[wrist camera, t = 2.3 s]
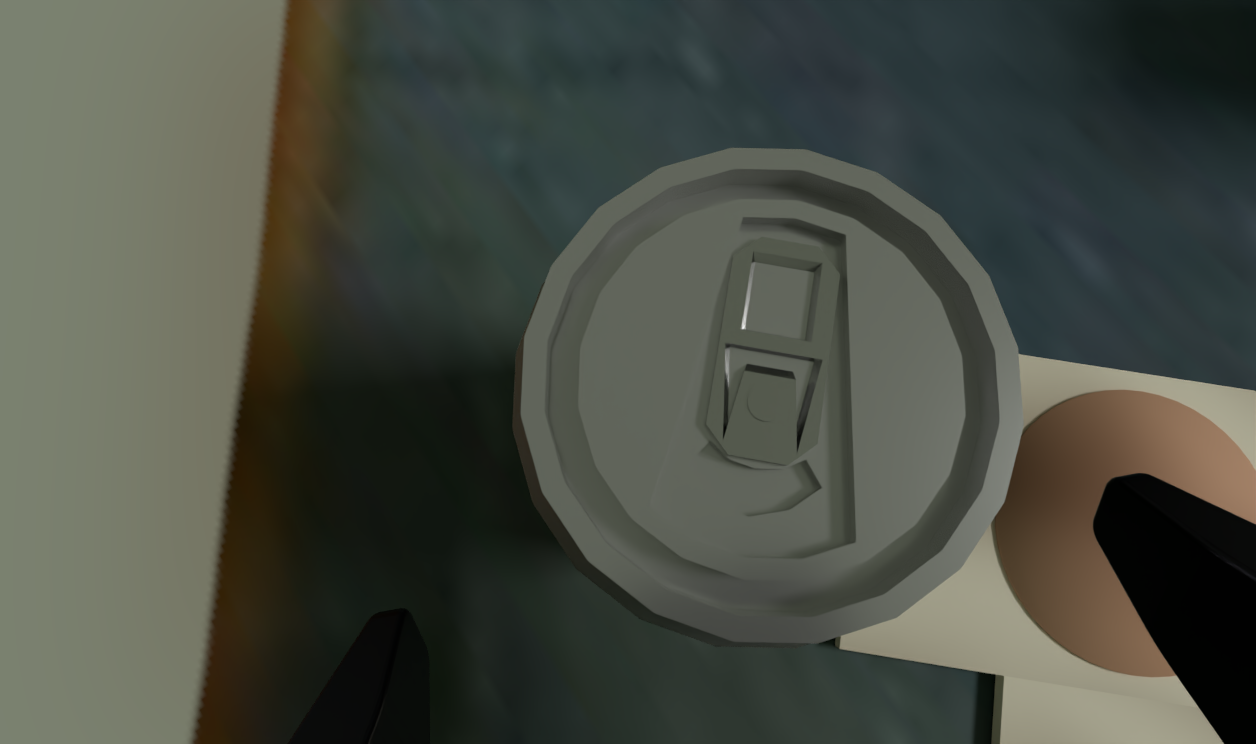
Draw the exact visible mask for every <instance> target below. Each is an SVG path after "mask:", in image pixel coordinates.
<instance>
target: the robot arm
mask: <svg viewBox="0 0 1256 744" xmlns="http://www.w3.org/2000/svg"><path fill="white" fill-rule="evenodd" d="M1093 531H1094V535H1095V538H1096V540H1097V542H1098V544H1099V546H1100V547H1101V549H1102V551H1103V553H1104V555H1105V556H1106V558H1107V560H1108V562H1109V564H1110V565H1111V567H1112V569H1113V571H1114V572H1115V574H1116V576H1117V578H1118V580H1119V581H1120V583H1121V585H1122V587H1123V589H1124V590H1125V592H1126V594H1127V596H1128V597H1129V599H1130V601H1131V603H1132V605H1133V606H1134V608H1135V610H1136V612H1137V613H1138V615H1139V617H1140V619H1141V621H1142V622H1143V624H1144V626H1145V628H1146V630H1147V631H1148V633H1149V635H1150V636H1151V638H1152V639H1153V641H1154V643H1155V644H1156V646H1157V648H1158V649H1159V651H1160V652H1161V654H1162V655H1163V657H1164V658H1165V660H1166V661H1167V663H1168V664H1169V666H1170V667H1171V669H1172V670H1173V672H1174V673H1175V674H1176V676H1177V677H1178V679H1179V680H1180V682H1181V683H1182V684H1183V686H1184V687H1185V689H1186V690H1187V692H1188V693H1189V695H1190V696H1191V697H1192V699H1193V700H1194V702H1195V703H1196V705H1197V706H1198V707H1199V709H1200V710H1201V712H1202V713H1203V715H1204V716H1205V717H1206V719H1207V720H1208V722H1209V723H1210V725H1211V726H1212V728H1213V729H1214V730H1215V732H1216V733H1217V735H1218V736H1219V738H1220V739H1221V740H1222V742H1223V743H1224V744H1256V524H1254V523H1252V522H1250V521H1248V520H1246V519H1243V518H1241V517H1239V516H1237V515H1235V514H1233V513H1231V512H1229V511H1226V510H1224V509H1222V508H1220V507H1218V506H1216V505H1214V504H1212V503H1209V502H1207V501H1205V500H1203V499H1201V498H1199V497H1197V496H1195V495H1192V494H1190V493H1188V492H1186V491H1184V490H1182V489H1180V488H1178V487H1176V486H1173V485H1171V484H1169V483H1167V482H1165V481H1163V480H1161V479H1159V478H1156V477H1154V476H1152V475H1149V474H1146V473H1134V474H1129V475H1124V476H1118V477H1114V478H1112V479H1110V480H1109V481H1108V482H1107V484H1106V486H1105V488H1104V491H1103V494H1102V496H1101V499H1100V502H1099V505H1098V507H1097V510H1096V513H1095V516H1094V518H1093ZM288 744H430V707H429V656H428V651H427V647H426V644H425V642H424V640H423V638H422V636H421V634H420V632H419V630H418V627H417V625H416V623H415V621H414V619H413V617H412V615H411V613H410V612H409V611H408V610H407V609H405V608H400V609H394V610H389V611H384V612H379V613H376V614H374V615H373V616H372V617H371V618H370V619H369V620H368V622H367V623H366V625H365V626H364V628H363V629H362V631H361V632H360V634H359V636H358V637H357V639H356V640H355V642H354V643H353V645H352V646H351V648H350V649H349V651H348V652H347V654H346V655H345V657H344V658H343V660H342V661H341V663H340V664H339V666H338V668H337V669H336V671H335V672H334V674H333V675H332V677H331V678H330V680H329V681H328V683H327V684H326V686H325V687H324V689H323V690H322V692H321V693H320V695H319V697H318V698H317V700H316V701H315V703H314V704H313V706H312V707H311V709H310V710H309V712H308V713H307V715H306V716H305V718H304V719H303V721H302V722H301V724H300V725H299V727H298V729H297V730H296V732H295V733H294V735H293V736H292V738H291V739H290V741H289V742H288Z"/></svg>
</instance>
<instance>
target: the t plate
mask: <svg viewBox="0 0 1256 744" xmlns="http://www.w3.org/2000/svg"><path fill="white" fill-rule="evenodd" d="M1018 355H1019V368H1020V381H1021V394H1022V408H1023V421H1024V427H1023V431H1022V435H1021V439H1020V443H1019V447H1018V451H1017V455H1016V459H1015V463H1014V467H1013V471H1012V475H1011V479H1010V483H1009V487H1008V490H1007V494H1006V498H1005V502H1004V504H1003V505H1002V507H1001V508H1000V510H999V511H998V513H997V514H996V516H995V517H994V519H993V520H992V522H991V524H990V525H989V527H988V528H987V530H986V531H985V533H984V534H983V536H982V537H981V539H980V540H979V542H978V543H977V545H976V546H975V548H974V549H973V551H972V553H971V554H970V556H969V557H968V559H967V560H966V562H965V563H964V565H963V566H962V568H961V569H960V570H959V571H957V572H956V573H955V574H953V575H952V576H951V577H949V578H948V579H947V580H945V581H944V582H943V583H942V584H940V585H939V586H938V587H936V588H935V589H934V590H932V591H931V592H930V593H928V594H927V595H926V596H925V597H923V598H922V599H921V600H919V601H918V602H917V603H915V604H914V605H913V606H911V607H910V608H909V609H908V610H906V611H905V612H904V613H902V614H901V615H900V616H898V617H897V618H895V619H892V620H889V621H886V622H882V623H879V624H876V625H873V626H870V627H867V628H864V629H861V630H858V631H855V632H852V633H848V634H845V635H842V636H839V637H836V640H835V646H836V647H838V648H839V649H843V650H850V651H856V652H862V653H868V654H874V655H880V656H886V657H892V658H898V659H904V660H910V661H917V662H923V663H929V664H935V665H941V666H947V667H953V668H959V669H965V670H971V671H978V672H984V673H990V674H996V678H995V693H994V709H993V724H992V740H991V744H1224V743H1223V742H1222V740H1221V739H1220V738H1219V736H1218V735H1217V733H1216V732H1215V730H1214V729H1213V728H1212V726H1211V725H1210V723H1209V722H1208V720H1207V719H1206V717H1205V716H1204V715H1203V713H1202V712H1201V710H1200V709H1199V707H1198V706H1197V705H1196V703H1195V702H1194V700H1193V699H1192V697H1191V696H1190V695H1189V693H1188V692H1187V690H1186V689H1185V687H1184V686H1183V684H1182V683H1181V682H1180V680H1179V679H1178V677H1177V676H1176V674H1175V673H1174V672H1173V670H1172V669H1171V667H1170V666H1169V664H1168V663H1167V661H1166V660H1165V658H1164V657H1163V655H1162V654H1161V652H1160V651H1159V649H1158V648H1157V646H1156V644H1155V643H1154V641H1153V639H1152V638H1151V636H1150V635H1149V633H1148V631H1147V630H1146V628H1145V626H1144V624H1143V622H1142V621H1141V619H1140V617H1139V615H1138V613H1137V612H1136V610H1135V608H1134V606H1133V605H1132V603H1131V601H1130V599H1129V597H1128V596H1127V594H1126V592H1125V590H1124V589H1123V587H1122V585H1121V583H1120V581H1119V580H1118V578H1117V576H1116V574H1115V572H1114V571H1113V569H1112V567H1111V565H1110V564H1109V562H1108V560H1107V558H1106V556H1105V555H1104V553H1103V551H1102V549H1101V547H1100V546H1099V544H1098V542H1097V540H1096V538H1095V535H1094V531H1093V518H1094V516H1095V513H1096V510H1097V507H1098V505H1099V502H1100V499H1101V496H1102V494H1103V491H1104V488H1105V486H1106V484H1107V482H1108V481H1109V480H1110V479H1112V478H1114V477H1118V476H1124V475H1129V474H1134V473H1146V474H1149V475H1152V476H1154V477H1156V478H1159V479H1161V480H1163V481H1165V482H1167V483H1169V484H1171V485H1173V486H1176V487H1178V488H1180V489H1182V490H1184V491H1186V492H1188V493H1190V494H1192V495H1195V496H1197V497H1199V498H1201V499H1203V500H1205V501H1207V502H1209V503H1212V504H1214V505H1216V506H1218V507H1220V508H1222V509H1224V510H1226V511H1229V512H1231V513H1233V514H1235V515H1237V516H1239V517H1241V518H1243V519H1246V520H1248V521H1250V522H1252V523H1254V524H1256V391H1252V390H1246V389H1239V388H1233V387H1226V386H1220V385H1214V384H1207V383H1201V382H1194V381H1188V380H1181V379H1175V378H1168V377H1162V376H1155V375H1149V374H1142V373H1136V372H1130V371H1123V370H1117V369H1110V368H1104V367H1097V366H1091V365H1084V364H1078V363H1071V362H1065V361H1058V360H1052V359H1046V358H1039V357H1033V356H1026V355H1020V354H1018Z"/></svg>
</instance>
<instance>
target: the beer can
mask: <svg viewBox="0 0 1256 744" xmlns="http://www.w3.org/2000/svg"><path fill="white" fill-rule="evenodd" d="M1023 427H1024V421H1023V408H1022V394H1021V381H1020V368H1019V355H1018V346H1017V344H1016V341H1015V339H1014V336H1013V334H1012V332H1011V329H1010V327H1009V324H1008V322H1007V319H1006V317H1005V314H1004V312H1003V309H1002V307H1001V304H1000V302H999V299H998V297H997V294H996V292H995V289H994V287H993V284H992V282H991V280H990V277H989V275H988V274H987V273H986V271H985V270H984V269H983V268H982V266H981V265H980V264H979V263H978V261H977V260H976V259H975V258H974V257H973V255H972V254H971V253H970V252H969V250H968V249H967V248H966V247H965V245H964V244H963V243H962V242H961V241H960V239H959V238H958V237H957V236H956V234H955V233H954V232H953V231H952V229H951V228H950V227H949V226H948V224H947V223H946V222H945V221H944V220H943V218H942V217H941V216H940V215H939V214H937V213H936V212H934V211H933V210H931V209H930V208H928V207H927V206H925V205H924V204H923V203H921V202H920V201H918V200H917V199H915V198H914V197H912V196H911V195H909V194H908V193H906V192H905V191H904V190H902V189H901V188H899V187H898V186H896V185H895V184H893V183H892V182H890V181H889V180H887V179H886V178H884V177H883V176H882V175H880V174H879V173H877V172H874V171H871V170H868V169H864V168H861V167H858V166H855V165H852V164H849V163H846V162H843V161H840V160H837V159H834V158H830V157H827V156H824V155H821V154H818V153H815V152H812V151H809V150H803V149H760V148H729V149H725V150H722V151H718V152H715V153H711V154H708V155H704V156H700V157H697V158H693V159H690V160H686V161H683V162H679V163H675V164H672V165H668V166H665V167H661V168H659V169H658V170H656V171H654V172H653V173H651V174H650V175H648V176H647V177H645V178H644V179H642V180H641V181H639V182H638V183H636V184H634V185H633V186H631V187H630V188H628V189H627V190H625V191H624V192H622V193H621V194H619V195H618V196H616V197H614V198H613V199H611V200H610V201H608V202H607V203H605V204H604V205H602V206H601V207H599V208H598V209H597V210H596V211H595V213H594V214H593V215H592V216H591V218H590V219H589V220H588V221H587V223H586V224H585V225H584V226H583V227H582V229H581V230H580V231H579V232H578V234H577V235H576V236H575V237H574V239H573V240H572V241H571V242H570V243H569V245H568V246H567V247H566V248H565V250H564V251H563V252H562V253H561V255H560V256H559V257H558V258H557V259H556V261H555V262H554V263H553V264H552V266H551V268H550V271H549V273H548V276H547V278H546V281H545V282H544V283H543V284H542V287H541V289H540V292H539V294H538V297H537V300H536V302H535V305H534V307H533V310H532V313H531V315H530V318H529V320H528V323H527V326H526V328H525V331H524V333H523V336H522V339H521V341H520V344H519V346H518V349H517V352H516V361H515V381H514V402H513V422H512V430H513V433H514V437H515V440H516V444H517V448H518V451H519V455H520V459H521V462H522V466H523V470H524V473H525V477H526V480H527V484H528V488H529V491H530V495H531V499H532V502H533V504H534V506H535V507H536V509H537V510H538V512H539V513H540V515H541V516H542V518H543V519H544V521H545V522H546V524H547V525H548V527H549V528H550V530H551V531H552V533H553V534H554V536H555V537H556V539H557V540H558V542H559V543H560V545H561V546H562V548H563V550H564V551H565V553H566V554H567V556H568V557H569V559H570V560H571V562H572V563H573V565H574V566H575V568H576V569H577V570H578V571H580V572H581V573H582V574H583V575H585V576H586V577H587V578H588V579H590V580H591V581H592V582H593V583H595V584H596V585H597V586H599V587H600V588H601V589H602V590H604V591H605V592H606V593H607V594H609V595H610V596H611V597H612V598H614V599H615V600H616V601H618V602H619V603H620V604H621V605H623V606H624V607H625V608H626V609H628V610H629V611H630V612H631V613H633V614H634V615H635V616H637V617H638V618H639V619H641V620H644V621H647V622H649V623H652V624H655V625H658V626H660V627H663V628H666V629H669V630H672V631H674V632H677V633H680V634H683V635H685V636H688V637H691V638H694V639H696V640H699V641H702V642H705V643H707V644H710V645H713V646H716V647H763V648H798V647H801V646H805V645H808V644H811V643H821V642H824V641H827V640H830V639H833V638H836V637H839V636H842V635H845V634H848V633H852V632H855V631H858V630H861V629H864V628H867V627H870V626H873V625H876V624H879V623H882V622H886V621H889V620H892V619H895V618H897V617H898V616H900V615H901V614H902V613H904V612H905V611H906V610H908V609H909V608H910V607H911V606H913V605H914V604H915V603H917V602H918V601H919V600H921V599H922V598H923V597H925V596H926V595H927V594H928V593H930V592H931V591H932V590H934V589H935V588H936V587H938V586H939V585H940V584H942V583H943V582H944V581H945V580H947V579H948V578H949V577H951V576H952V575H953V574H955V573H956V572H957V571H959V570H960V569H961V568H962V566H963V565H964V563H965V562H966V560H967V559H968V557H969V556H970V554H971V553H972V551H973V549H974V548H975V546H976V545H977V543H978V542H979V540H980V539H981V537H982V536H983V534H984V533H985V531H986V530H987V528H988V527H989V525H990V524H991V522H992V520H993V519H994V517H995V516H996V514H997V513H998V511H999V510H1000V508H1001V507H1002V505H1003V504H1004V502H1005V498H1006V494H1007V490H1008V487H1009V483H1010V479H1011V475H1012V471H1013V467H1014V463H1015V459H1016V455H1017V451H1018V447H1019V443H1020V439H1021V435H1022V431H1023Z"/></svg>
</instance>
